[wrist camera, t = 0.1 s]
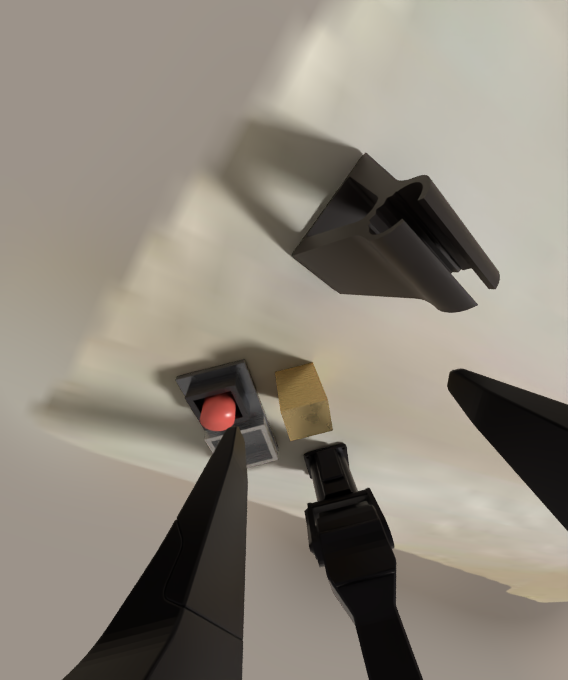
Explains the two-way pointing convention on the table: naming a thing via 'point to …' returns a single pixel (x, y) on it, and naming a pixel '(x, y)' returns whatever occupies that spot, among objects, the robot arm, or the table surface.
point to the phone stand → (394, 241)
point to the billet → (303, 402)
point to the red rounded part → (218, 412)
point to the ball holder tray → (246, 413)
